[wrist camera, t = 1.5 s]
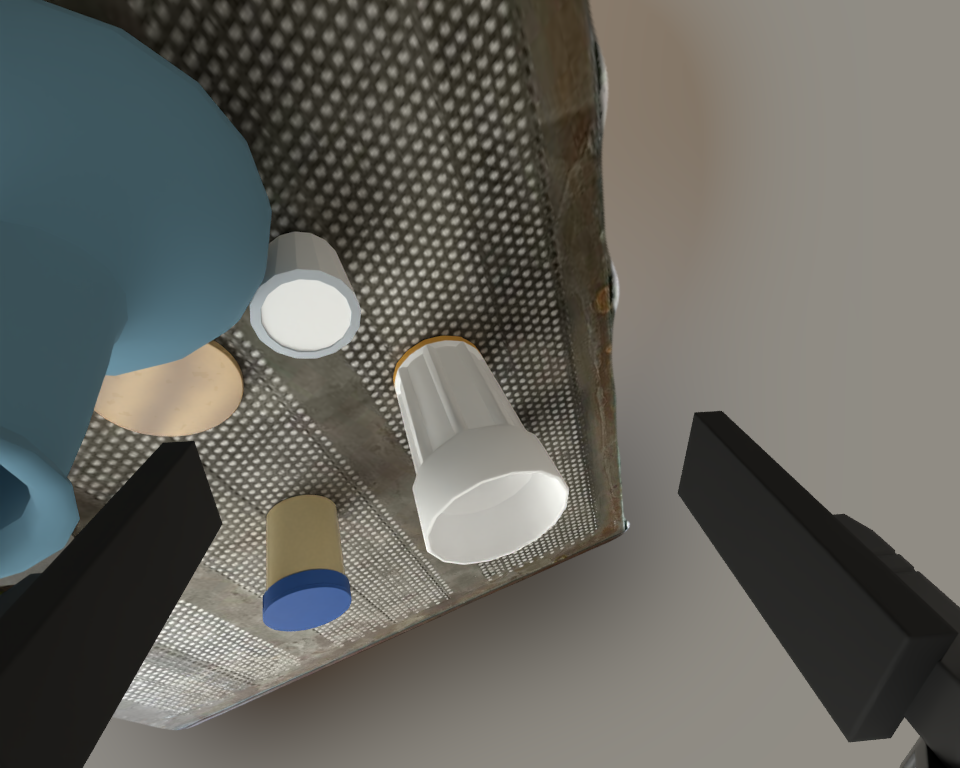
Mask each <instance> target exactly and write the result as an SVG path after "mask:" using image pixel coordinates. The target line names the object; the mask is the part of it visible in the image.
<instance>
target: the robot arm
mask: <svg viewBox="0 0 960 768" xmlns="http://www.w3.org/2000/svg"><path fill="white" fill-rule="evenodd" d="M678 494H679V496H680V497H681V498H682V500H683V502H684V503H685V505H686V506H687V507H688V509H689V510H690V512H691V513H692V515H693V516H694V517H695V519H696V520H697V522H698V523H699V524H700V526H701V528H702V529H703V531H704V532H705V533H706V535H707V536H708V538H709V539H710V541H711V542H712V544H713V545H714V546H715V548H716V550H717V551H718V553H719V554H720V555H721V557H722V558H723V560H724V561H725V563H726V564H727V566H728V567H729V569H730V570H731V571H732V573H733V574H734V576H735V577H736V579H737V580H738V582H739V583H740V584H741V586H742V587H743V589H744V590H745V592H746V593H747V595H748V596H749V598H750V599H751V600H752V602H753V603H754V605H755V606H756V608H757V609H758V611H759V612H760V614H761V615H762V617H763V618H764V619H765V621H766V622H767V624H768V625H769V627H770V628H771V629H772V631H773V633H774V634H775V635H776V637H777V638H778V639H779V641H780V643H781V644H782V646H783V647H784V648H785V650H786V651H787V653H788V654H789V656H790V657H791V659H792V660H793V662H794V663H795V664H796V666H797V667H798V669H799V670H800V672H801V673H802V675H803V676H804V677H805V679H806V680H807V682H808V683H809V685H810V686H811V688H812V689H813V691H814V692H815V694H816V695H817V696H818V698H819V699H820V701H821V702H822V704H823V705H824V707H825V708H826V709H827V711H828V713H829V714H830V715H831V717H832V718H833V720H834V721H835V723H836V724H837V725H838V727H839V728H840V730H841V731H842V733H843V734H844V736H845V737H846V739H847V740H848V742H856V741H867V740H876V739H886V738H891V737H892V735H893V734H894V732H895V731H896V729H897V728H898V726H899V724H900V723H901V721H902V720H903V719H904V717H905V718H906V719H907V720H908V722H909V723H910V724H911V725H912V727H913V728H914V729H915V730H916V731H917V733H918V734H919V735H920V738H919V739H918V740H917V742H916V743H915V745H914V746H913V748H912V749H911V751H910V752H909V754H908V755H907V756H906V758H905V759H904V761H903V762H902V763H901V765H900V768H960V607H959V606H957V605H956V604H955V603H954V602H953V601H952V600H951V599H949V598H948V597H947V596H946V595H945V594H944V593H943V592H942V591H940V590H939V589H938V588H937V587H936V586H935V585H934V584H932V583H931V582H930V581H929V580H928V579H927V578H926V577H925V576H923V575H922V574H921V573H920V572H918V571H917V572H916V571H915V570H914V567H913V566H912V565H911V564H910V563H909V562H908V561H907V560H905V559H904V558H903V557H902V556H901V555H900V554H896V553H895V550H894V549H893V548H892V547H891V546H890V545H888V544H887V543H886V542H885V541H884V540H883V539H882V538H881V537H880V536H878V535H877V534H876V533H875V532H874V531H873V530H871V529H869V528H868V527H866V526H864V525H862V524H861V523H859V522H857V521H855V520H854V519H852V518H850V517H848V516H847V515H845V514H837V515H832V514H831V513H830V512H829V511H828V510H827V509H826V508H825V507H824V506H823V505H822V504H820V503H819V502H818V501H817V500H816V499H815V498H814V497H813V496H812V495H811V494H810V493H809V492H808V491H807V490H805V488H803V487H802V486H801V485H800V484H799V483H798V482H797V481H796V480H795V479H794V478H793V477H792V476H790V475H789V473H787V472H786V471H785V470H784V469H783V468H782V467H781V466H780V465H779V464H778V463H776V461H775V460H773V459H772V458H771V457H770V456H769V455H768V454H767V453H766V452H765V451H764V450H763V449H762V448H761V447H760V446H759V445H758V444H756V443H755V442H754V441H753V440H752V439H751V438H750V437H749V436H748V435H747V434H746V433H745V432H744V431H743V430H741V429H740V428H739V427H738V426H737V425H736V424H735V423H734V422H733V421H732V420H731V419H730V418H729V417H728V416H727V415H726V414H724V413H723V412H722V411H714V412H698V413H697V412H696V413H694V418H693V422H692V427H691V432H690V437H689V442H688V446H687V451H686V456H685V461H684V466H683V470H682V475H681V480H680V485H679V490H678ZM221 525H222V521H221V518H220V516H219V513H218V510H217V507H216V504H215V501H214V498H213V495H212V492H211V489H210V486H209V483H208V480H207V477H206V474H205V472H204V469H203V466H202V463H201V460H200V457H199V454H198V451H197V448H196V445H195V442H194V441H187V442H169V443H162V444H161V445H160V447H159V448H158V449H157V450H156V451H155V452H154V453H153V454H152V455H151V456H150V457H149V458H148V459H147V461H146V462H145V463H144V464H143V465H142V466H141V467H140V468H139V469H138V470H137V471H136V472H135V473H134V475H133V476H132V477H131V478H130V479H129V480H128V481H127V482H126V483H125V484H124V485H123V486H122V487H121V489H120V490H119V491H118V492H117V493H116V494H115V495H114V496H113V497H112V498H111V499H110V500H109V501H108V503H107V504H106V505H105V506H104V507H103V508H102V509H101V510H100V511H99V512H98V513H97V514H96V515H95V517H94V518H93V519H92V520H91V521H90V522H89V523H88V524H87V525H86V526H85V527H84V528H83V529H82V531H81V532H80V533H79V534H78V535H77V536H76V537H75V538H74V539H73V540H72V541H71V542H70V543H69V545H68V546H67V547H66V548H65V549H64V550H63V551H62V552H61V553H60V554H59V555H58V556H57V557H56V559H55V560H54V561H53V562H52V563H51V564H50V565H49V566H48V567H47V568H46V569H45V570H44V571H43V573H33V574H29V575H28V576H27V577H25V578H24V579H22V580H21V581H19V582H18V583H17V584H15V585H14V586H12V587H11V588H9V589H8V590H7V591H5V592H4V593H2V594H1V595H0V768H83V766H84V764H85V763H86V761H87V759H88V757H89V756H90V754H91V752H92V751H93V749H94V747H95V745H96V743H97V742H98V740H99V738H100V737H101V735H102V733H103V731H104V730H105V728H106V726H107V724H108V722H109V721H110V719H111V717H112V716H113V714H114V712H115V710H116V709H117V707H118V705H119V703H120V702H121V700H122V698H123V696H124V695H125V693H126V691H127V689H128V688H129V686H130V684H131V682H132V681H133V679H134V677H135V675H136V674H137V672H138V670H139V668H140V667H141V665H142V663H143V661H144V660H145V658H146V656H147V655H148V653H149V651H150V649H151V648H152V646H153V644H154V642H155V641H156V639H157V637H158V635H159V634H160V632H161V630H162V628H163V627H164V625H165V623H166V621H167V620H168V618H169V616H170V614H171V613H172V611H173V609H174V607H175V606H176V604H177V602H178V600H179V599H180V597H181V595H182V593H183V592H184V590H185V588H186V586H187V585H188V583H189V581H190V579H191V578H192V576H193V574H194V572H195V571H196V569H197V567H198V565H199V564H200V562H201V560H202V558H203V557H204V555H205V553H206V551H207V550H208V548H209V546H210V545H211V543H212V541H213V539H214V538H215V536H216V534H217V532H218V531H219V529H220V527H221Z"/></svg>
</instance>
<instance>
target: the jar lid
mask: <svg viewBox="0 0 960 768" xmlns="http://www.w3.org/2000/svg"><path fill="white" fill-rule="evenodd" d="M350 604H351V592H350V584H349V580H348V578H347V577H346V576H345V575H344V574H342V573H340V572H338V571H334V570H328V569H316V570H308V571H303V572H299V573H295V574H292V575H289V576H287V577H285V578H283V579H281V580H279V581H277V582H276V583H274V584H273V585H272V586H271V587H269V588H268V590H267V591H266V592H265V594H264V595H263V622H264V623H265V624H266V625H267V626H268V627H270V628H272V629H275V630H279V631H300V630H306V629H311V628H315V627H318V626H321V625H324V624H326V623H328V622H331V621H332V620H334V619H336V618H338V617H339V616H341V615H342V614H343V613H344V612H345V611H346V610H347V609H348V608H349V606H350Z"/></svg>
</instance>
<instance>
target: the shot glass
mask: <svg viewBox="0 0 960 768" xmlns="http://www.w3.org/2000/svg"><path fill="white" fill-rule="evenodd" d="M360 316H361V309H360V306H359V303H358V301H357V298H356V295H355V293H354V291H353V288H352V286H351V284H350V282H349V280H348V277H347V275H346V273H345V271H344V268H343V266H342V264H341V262H340V260H339V257H338V255H337V253H336V251H335V250H334V249H333V248H332V247H331V245H330V244H329V243H328V242H327V241H326V240H324V239H322V238H320V237H318V236H316V235H314V234H312V233H305V232H295V231H294V232H290V233H287V234H283V235H279V236H278V237H277V238H275V239H274V240H273V241H272V242H270V243H269V246H268V257H267V267H266V271H265V276H264V279H263V281H262V283H261V284H260V286H259V288H258V289H257V291H256V293H255V295H254V296H253V298H252V300H251V302H250V320H251V325H252V327H253V329H254V330H255V332H256V334H257V335H258V337H259V339H260V340H261V341H262V342H263V343H265V344H266V345H267V346H269V347H270V348H271V349H273V350H274V351H276V352H278V353H281V354H284V355H287V356H290V357H294V358H319V357H322V356H326V355H329V354H332V353H335V352H337V351H338V350H339V349H341V348H342V347H344V346H345V345H346V344H348V343H349V342H350V341H351V340H352V338H353V336H354V335H355V333H356V332H357V330H358V328H359V325H360Z"/></svg>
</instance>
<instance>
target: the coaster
mask: <svg viewBox="0 0 960 768" xmlns="http://www.w3.org/2000/svg"><path fill="white" fill-rule="evenodd" d="M243 390H244V379H243V374H242V371H241V369H240V366H239V365H238V363H237V361H236V360H235V359H234V357H233V356H232V355H231V354H230V353H229V352H228V351H227V350H226V349H225V348H224V347H223V346H221V345H220V344H219V343H217V342H216V341H214V340H212V341H210V342H209V343H207V344H206V345H204V346H202V347H201V348H199V349H197V350H196V351H194V352H193V353H191V354H189V355H188V356H186V357H184V358H183V359H180V360H177V361H173V362H169V363H166V364H162V365H157V366H153V367H149V368H145V369H141V370H137V371H133V372H129V373H125V374H121V375H117V376H110V375H105V377H104V380H103V383H102V386H101V389H100V392H99V395H98V398H97V401H96V404H95V407H94V410H95V411H96V412H97V413H98V414H99V415H101V416H102V417H103V418H105V419H107V420H108V421H110V422H112V423H114V424H116V425H118V426H120V427H122V428H125V429H128V430H131V431H134V432H138V433H142V434H147V435H154V436H184V435H191V434H196V433H199V432H203V431H206V430H208V429H211V428H213V427H215V426H217V425H219V424H221V423H222V422H224V421H225V420H227V419H228V418H229V417H230V416H231V415H232V414H233V413H234V412H235V411H236V409H237V408H238V406H239V404H240V402H241V400H242V396H243Z"/></svg>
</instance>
